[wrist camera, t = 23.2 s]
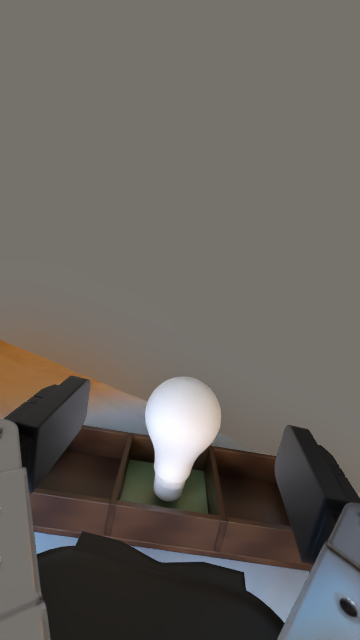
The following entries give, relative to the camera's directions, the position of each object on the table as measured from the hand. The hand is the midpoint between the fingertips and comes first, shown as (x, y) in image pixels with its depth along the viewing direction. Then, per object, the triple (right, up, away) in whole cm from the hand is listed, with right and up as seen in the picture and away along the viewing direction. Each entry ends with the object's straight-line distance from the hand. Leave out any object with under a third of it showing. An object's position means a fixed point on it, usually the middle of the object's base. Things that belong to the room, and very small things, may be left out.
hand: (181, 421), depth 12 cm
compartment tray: (-1, -12, +14) cm, 18 cm away
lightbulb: (-1, -11, +14) cm, 18 cm away
